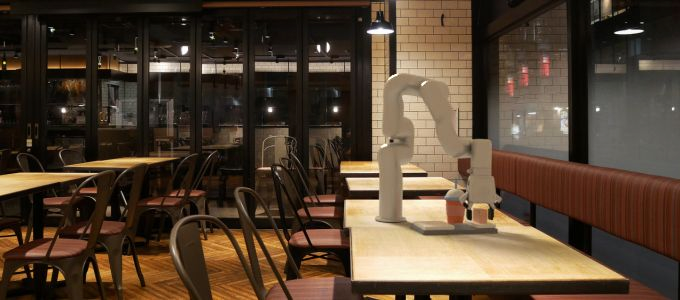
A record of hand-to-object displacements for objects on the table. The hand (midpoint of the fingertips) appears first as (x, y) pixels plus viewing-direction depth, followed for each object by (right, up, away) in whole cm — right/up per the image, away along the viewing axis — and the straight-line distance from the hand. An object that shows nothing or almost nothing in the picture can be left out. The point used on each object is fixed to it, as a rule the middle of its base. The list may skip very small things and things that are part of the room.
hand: (480, 219), depth 224 cm
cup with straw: (-6, -4, +17) cm, 19 cm away
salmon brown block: (0, -2, 0) cm, 2 cm away
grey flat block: (-10, -4, -2) cm, 11 cm away
